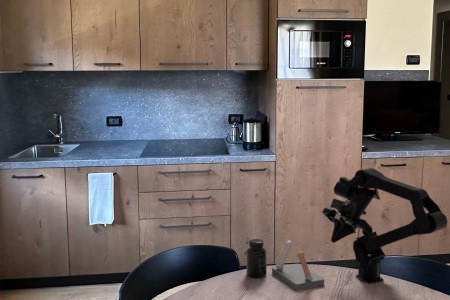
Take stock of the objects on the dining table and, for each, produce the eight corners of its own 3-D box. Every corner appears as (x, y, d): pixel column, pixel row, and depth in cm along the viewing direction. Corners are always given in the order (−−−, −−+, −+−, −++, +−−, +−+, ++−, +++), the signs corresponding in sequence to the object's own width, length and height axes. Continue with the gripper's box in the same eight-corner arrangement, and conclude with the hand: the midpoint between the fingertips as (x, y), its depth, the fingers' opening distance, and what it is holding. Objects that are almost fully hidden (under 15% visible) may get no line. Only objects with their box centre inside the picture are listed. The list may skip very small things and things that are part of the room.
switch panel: (298, 268, 162) (298, 263, 162) (324, 285, 148) (324, 279, 148) (272, 273, 158) (272, 267, 158) (296, 290, 144) (296, 284, 144)
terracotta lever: (309, 276, 149) (300, 249, 146) (314, 278, 147) (304, 251, 144) (304, 279, 148) (294, 252, 146) (308, 282, 146) (298, 254, 143)
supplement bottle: (265, 271, 160) (265, 237, 159) (267, 278, 154) (268, 243, 152) (245, 271, 160) (245, 237, 159) (247, 278, 153) (247, 244, 152)
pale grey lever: (279, 268, 158) (290, 240, 158) (283, 271, 155) (294, 242, 156) (274, 266, 157) (285, 239, 157) (277, 269, 155) (289, 240, 155)
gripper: (326, 183, 157) (300, 220, 154) (366, 195, 141) (338, 236, 138) (343, 202, 162) (318, 238, 159) (384, 216, 146) (357, 256, 142)
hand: (332, 241), depth 149 cm, fingers closed
